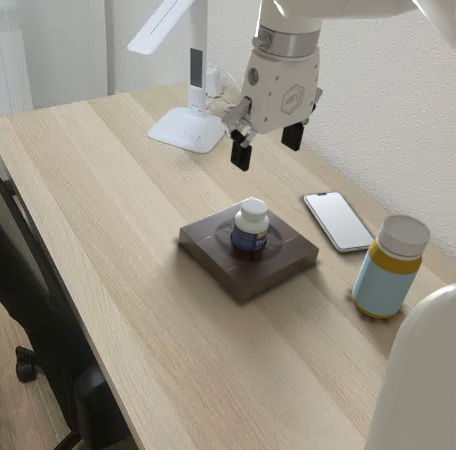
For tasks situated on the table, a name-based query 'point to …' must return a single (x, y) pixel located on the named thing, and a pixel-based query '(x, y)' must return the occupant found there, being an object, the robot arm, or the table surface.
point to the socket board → (247, 252)
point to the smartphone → (339, 221)
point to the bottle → (390, 266)
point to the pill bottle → (251, 225)
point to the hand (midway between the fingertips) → (265, 156)
